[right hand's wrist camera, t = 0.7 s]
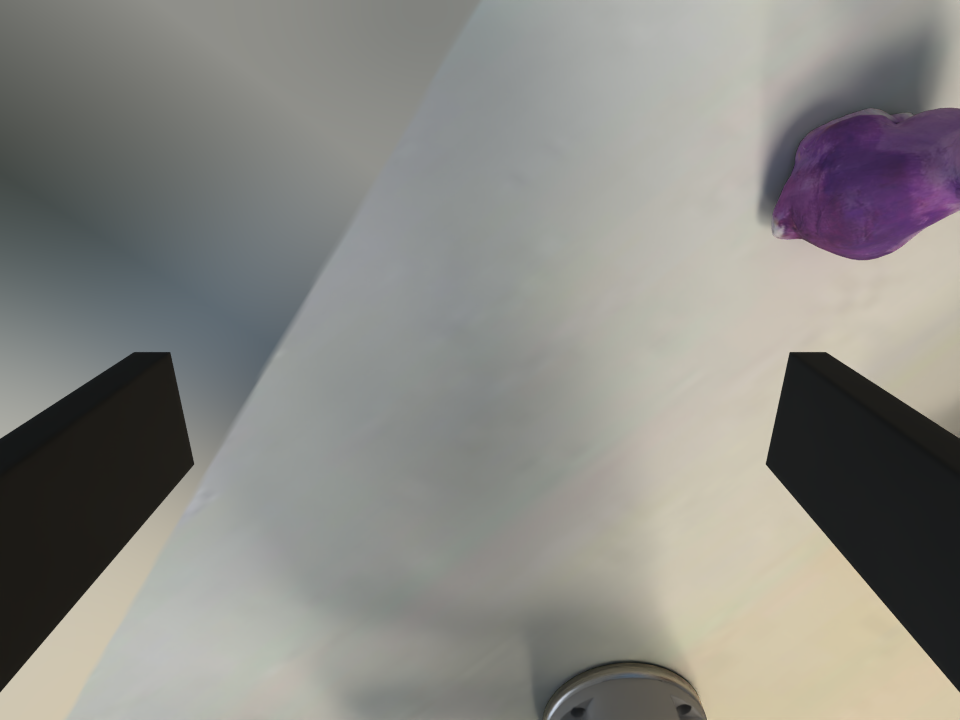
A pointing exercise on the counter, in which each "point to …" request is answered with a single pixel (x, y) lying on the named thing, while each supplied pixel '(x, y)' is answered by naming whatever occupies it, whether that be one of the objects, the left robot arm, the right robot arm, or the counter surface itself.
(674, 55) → the counter surface
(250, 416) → the counter surface
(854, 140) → the figurine
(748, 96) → the counter surface
